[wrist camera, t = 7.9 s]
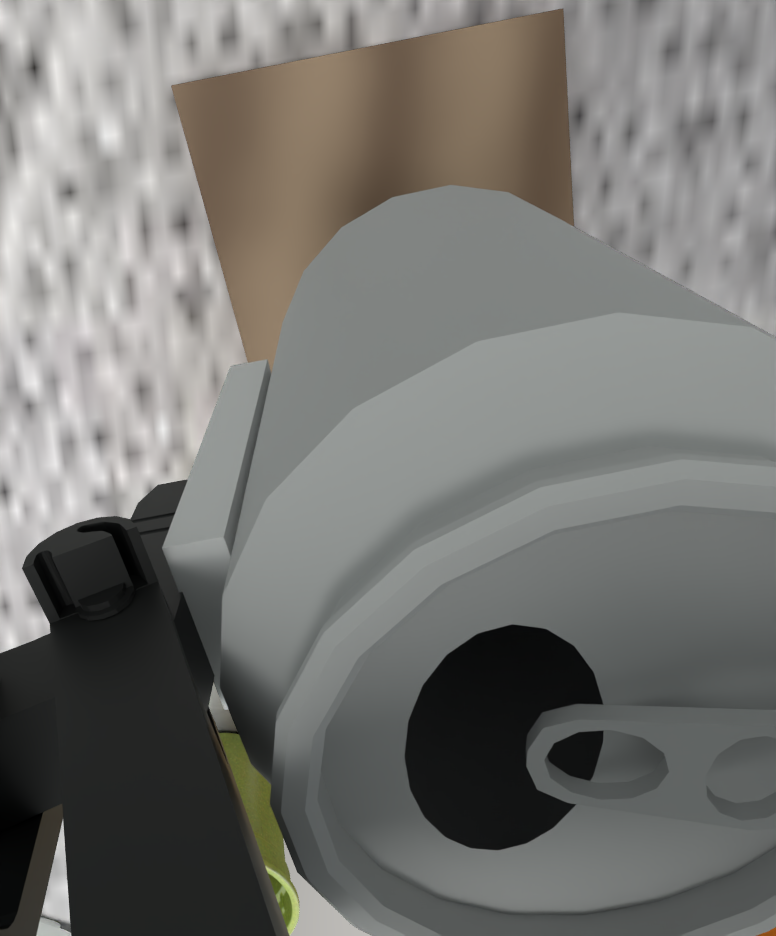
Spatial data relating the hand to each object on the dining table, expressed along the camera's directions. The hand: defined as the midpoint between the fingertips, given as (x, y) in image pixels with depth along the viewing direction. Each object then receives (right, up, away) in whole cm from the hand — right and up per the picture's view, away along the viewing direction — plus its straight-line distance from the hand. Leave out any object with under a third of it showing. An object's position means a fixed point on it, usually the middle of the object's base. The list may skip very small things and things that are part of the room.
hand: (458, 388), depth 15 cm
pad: (-1, +8, +15) cm, 17 cm away
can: (0, +1, +2) cm, 2 cm away
